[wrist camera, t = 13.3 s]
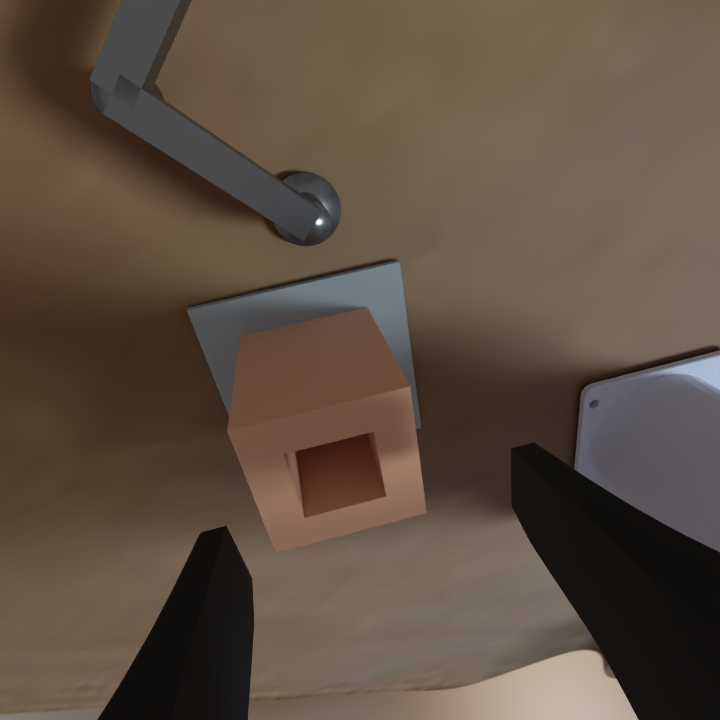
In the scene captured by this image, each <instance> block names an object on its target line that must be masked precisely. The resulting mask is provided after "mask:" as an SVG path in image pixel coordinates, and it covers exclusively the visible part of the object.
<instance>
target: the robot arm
mask: <svg viewBox="0 0 720 720" xmlns="http://www.w3.org/2000/svg"><path fill="white" fill-rule="evenodd" d="M592 401H593V402H592ZM591 402H592V403H591ZM511 487H512V507H513V509H514V511H515V513H516V515H517V517H518V519H519V521H520V523H521V525H522V527H523V529H524V531H525V533H526V535H527V537H528V539H529V540H530V542H531V544H532V546H533V547H534V549H535V550H536V552H537V553H538V555H539V556H540V558H541V559H542V561H543V562H544V564H545V566H546V567H547V569H548V570H549V572H550V573H551V575H552V576H553V578H554V579H555V581H556V582H557V584H558V585H559V587H560V588H561V590H562V591H563V593H564V594H565V596H566V597H567V599H568V600H569V602H570V603H571V605H572V606H573V608H574V609H575V611H576V612H577V614H578V615H579V617H580V618H581V620H582V621H583V623H584V624H585V626H586V627H587V629H588V630H589V632H590V633H591V635H592V637H593V638H594V640H595V641H596V643H597V645H598V646H599V648H600V650H601V651H602V653H603V655H604V657H605V659H606V660H607V662H608V664H609V666H610V668H611V670H612V671H613V673H614V675H615V677H616V679H617V680H618V682H619V684H620V686H621V688H622V689H623V691H624V693H625V695H626V697H627V699H628V701H629V702H630V704H631V706H632V708H633V710H634V712H635V714H636V716H637V718H638V719H639V720H720V350H719V351H715V352H711V353H707V354H704V355H700V356H696V357H692V358H688V359H684V360H680V361H677V362H673V363H669V364H665V365H661V366H657V367H653V368H649V369H646V370H642V371H638V372H634V373H630V374H626V375H622V376H618V377H615V378H611V379H607V380H603V381H599V382H595V383H591V384H589V385H587V386H586V387H585V388H584V389H583V390H582V393H581V399H580V410H579V421H578V432H577V443H576V454H575V465H574V469H573V468H572V467H570V466H569V465H567V464H566V463H564V462H563V461H561V460H560V459H558V458H557V457H555V456H554V455H552V454H551V453H549V452H548V451H546V450H545V449H543V448H542V447H540V446H538V445H537V444H535V443H530V444H527V445H523V446H519V447H516V448H512V449H511ZM253 632H254V607H253V587H252V577H251V575H250V573H249V571H248V569H247V567H246V565H245V563H244V561H243V559H242V557H241V555H240V553H239V551H238V549H237V546H236V544H235V542H234V540H233V538H232V536H231V534H230V532H229V530H228V528H227V526H224V527H220V528H216V529H213V530H209V531H205V532H202V533H201V534H200V535H199V537H198V539H197V541H196V543H195V545H194V547H193V549H192V551H191V553H190V555H189V557H188V559H187V561H186V563H185V566H184V568H183V570H182V572H181V574H180V576H179V578H178V580H177V582H176V584H175V586H174V588H173V590H172V592H171V594H170V596H169V597H168V599H167V601H166V603H165V605H164V607H163V609H162V611H161V613H160V615H159V616H158V618H157V620H156V622H155V624H154V626H153V628H152V630H151V631H150V633H149V635H148V637H147V639H146V640H145V642H144V644H143V646H142V647H141V649H140V651H139V653H138V654H137V656H136V658H135V659H134V661H133V663H132V665H131V666H130V668H129V670H128V672H127V673H126V675H125V677H124V678H123V680H122V682H121V683H120V685H119V687H118V688H117V690H116V691H115V693H114V695H113V696H112V698H111V699H110V701H109V703H108V704H107V706H106V707H105V709H104V711H103V712H102V713H101V715H100V717H99V718H98V720H248V706H249V692H250V678H251V663H252V648H253Z"/></svg>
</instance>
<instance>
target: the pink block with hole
mask: <svg viewBox="0 0 720 720" xmlns="http://www.w3.org/2000/svg"><path fill="white" fill-rule="evenodd" d="M227 432H228V435H229V437H230V440H231V442H232V445H233V447H234V450H235V452H236V455H237V457H238V460H239V462H240V465H241V467H242V470H243V472H244V475H245V477H246V480H247V482H248V485H249V487H250V490H251V492H252V495H253V497H254V500H255V502H256V505H257V507H258V510H259V512H260V515H261V517H262V520H263V522H264V525H265V527H266V530H267V532H268V535H269V537H270V540H271V542H272V545H273V547H274V550H275V552H276V553H280V552H284V551H287V550H291V549H295V548H299V547H302V546H306V545H310V544H313V543H317V542H321V541H325V540H328V539H332V538H336V537H340V536H343V535H347V534H351V533H355V532H358V531H362V530H366V529H369V528H373V527H377V526H381V525H384V524H388V523H392V522H396V521H399V520H403V519H407V518H410V517H414V516H418V515H422V514H425V513H427V511H426V503H425V495H424V488H423V480H422V472H421V465H420V457H419V449H418V442H417V434H416V426H415V419H414V411H413V403H412V396H411V388H410V385H409V383H408V381H407V379H406V378H405V376H404V374H403V372H402V370H401V368H400V367H399V365H398V363H397V361H396V359H395V357H394V355H393V354H392V352H391V350H390V348H389V346H388V344H387V342H386V341H385V339H384V337H383V335H382V333H381V331H380V330H379V328H378V326H377V324H376V322H375V320H374V318H373V317H372V315H371V313H370V311H369V309H368V307H366V308H361V309H357V310H352V311H348V312H344V313H339V314H335V315H330V316H326V317H322V318H317V319H313V320H309V321H304V322H300V323H295V324H291V325H287V326H282V327H278V328H273V329H269V330H265V331H260V332H256V333H251V334H247V335H243V336H240V339H239V347H238V354H237V361H236V369H235V376H234V384H233V391H232V399H231V406H230V414H229V421H228V429H227Z"/></svg>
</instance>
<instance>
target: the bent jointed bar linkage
mask: <svg viewBox="0 0 720 720" xmlns="http://www.w3.org/2000/svg"><path fill="white" fill-rule="evenodd" d="M191 1H192V0H121V3H120V5H119V8H118V10H117V13H116V15H115V17H114V20H113V22H112V25H111V27H110V30H109V32H108V35H107V37H106V40H105V42H104V45H103V47H102V50H101V52H100V55H99V57H98V60H97V62H96V65H95V67H94V70H93V72H92V75H91V77H90V81H91V95H92V98H93V101H94V103H95V105H96V107H97V108H98V109H99V111H100V112H101V113H102V114H103V115H105V116H106V117H107V118H109V119H111V120H113V121H115V122H117V123H118V124H120V125H121V126H123V127H125V128H126V129H128V130H129V131H131V132H132V133H134V134H136V135H137V136H139V137H140V138H142V139H143V140H145V141H147V142H148V143H150V144H151V145H153V146H154V147H156V148H158V149H159V150H161V151H162V152H164V153H165V154H167V155H169V156H170V157H172V158H173V159H175V160H176V161H178V162H180V163H181V164H183V165H184V166H186V167H188V168H189V169H191V170H192V171H194V172H195V173H197V174H199V175H200V176H202V177H203V178H205V179H206V180H208V181H210V182H211V183H213V184H214V185H216V186H217V187H219V188H221V189H222V190H224V191H225V192H227V193H228V194H230V195H232V196H233V197H235V198H236V199H238V200H239V201H241V202H243V203H244V204H246V205H247V206H249V207H250V208H252V209H254V210H255V211H257V212H258V213H260V214H261V215H263V216H265V217H266V218H268V219H269V220H271V221H273V224H274V226H275V228H276V229H277V231H278V232H279V233H280V235H282V236H283V237H284V238H285V239H286V240H288V241H290V242H291V243H294V244H297V245H301V246H312V245H316V244H319V243H321V242H323V241H325V240H326V239H327V238H329V237H330V236H331V235H332V234H333V232H334V231H335V229H336V228H337V225H338V223H339V220H340V214H341V207H340V201H339V198H338V195H337V193H336V191H335V190H334V188H333V187H332V186H331V185H330V183H329V182H328V181H326V180H325V179H324V178H322V177H321V176H319V175H316V174H314V173H309V172H298V173H294V174H291V175H289V176H287V177H286V178H284V179H283V180H282V181H281V180H280V179H278V178H277V177H276V176H274V175H273V174H271V173H270V172H268V171H267V170H265V169H264V168H262V167H261V166H259V165H258V164H257V163H255V162H254V161H252V160H251V159H249V158H248V157H246V156H245V155H243V154H242V153H240V152H239V151H238V150H236V149H235V148H233V147H232V146H230V145H229V144H227V143H226V142H224V141H223V140H221V139H220V138H218V137H217V136H216V135H214V134H213V133H211V132H210V131H208V130H207V129H205V128H204V127H202V126H201V125H199V124H198V123H197V122H195V121H194V120H192V119H191V118H189V117H188V116H186V115H185V114H183V113H182V112H180V111H179V110H177V109H176V108H175V107H173V106H172V105H170V104H169V103H167V102H166V101H164V99H163V96H162V93H161V91H160V90H159V88H158V87H157V86H156V85H155V84H154V83H155V81H156V79H157V77H158V74H159V72H160V70H161V68H162V65H163V63H164V61H165V59H166V57H167V54H168V52H169V50H170V48H171V45H172V43H173V41H174V39H175V36H176V34H177V32H178V30H179V28H180V25H181V23H182V21H183V19H184V16H185V14H186V12H187V10H188V7H189V5H190V3H191Z"/></svg>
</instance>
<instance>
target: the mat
mask: <svg viewBox="0 0 720 720" xmlns="http://www.w3.org/2000/svg"><path fill="white" fill-rule="evenodd" d="M366 307H368V309H369V311H370V313H371V315H372V317H373V318H374V320H375V322H376V324H377V326H378V328H379V330H380V331H381V333H382V335H383V337H384V339H385V341H386V342H387V344H388V346H389V348H390V350H391V352H392V354H393V355H394V357H395V359H396V361H397V363H398V365H399V367H400V368H401V370H402V372H403V374H404V376H405V378H406V379H407V381H408V383H409V385H410V388H411V396H412V403H413V411H414V419H415V426H416V429H420V428H421V420H420V413H419V405H418V398H417V390H416V382H415V375H414V367H413V360H412V352H411V345H410V337H409V329H408V322H407V314H406V307H405V299H404V291H403V284H402V276H401V269H400V262H399V261H398V260H394V261H390V262H385V263H381V264H377V265H372V266H368V267H363V268H359V269H355V270H350V271H346V272H342V273H337V274H333V275H328V276H324V277H320V278H315V279H311V280H306V281H302V282H298V283H293V284H289V285H285V286H280V287H276V288H271V289H267V290H263V291H258V292H254V293H249V294H245V295H241V296H236V297H232V298H228V299H223V300H219V301H214V302H210V303H206V304H201V305H197V306H192V307H188V309H187V313H188V315H189V318H190V320H191V323H192V325H193V328H194V330H195V333H196V335H197V338H198V340H199V343H200V345H201V348H202V350H203V353H204V355H205V358H206V360H207V363H208V365H209V368H210V370H211V373H212V375H213V378H214V380H215V383H216V385H217V388H218V390H219V393H220V395H221V398H222V400H223V403H224V405H225V408H226V410H227V413H228V415H229V414H230V406H231V399H232V391H233V384H234V376H235V369H236V361H237V354H238V347H239V339H240V336H243V335H247V334H251V333H256V332H260V331H265V330H269V329H273V328H278V327H282V326H287V325H291V324H295V323H300V322H304V321H309V320H313V319H317V318H322V317H326V316H330V315H335V314H339V313H344V312H348V311H352V310H357V309H361V308H366Z"/></svg>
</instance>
